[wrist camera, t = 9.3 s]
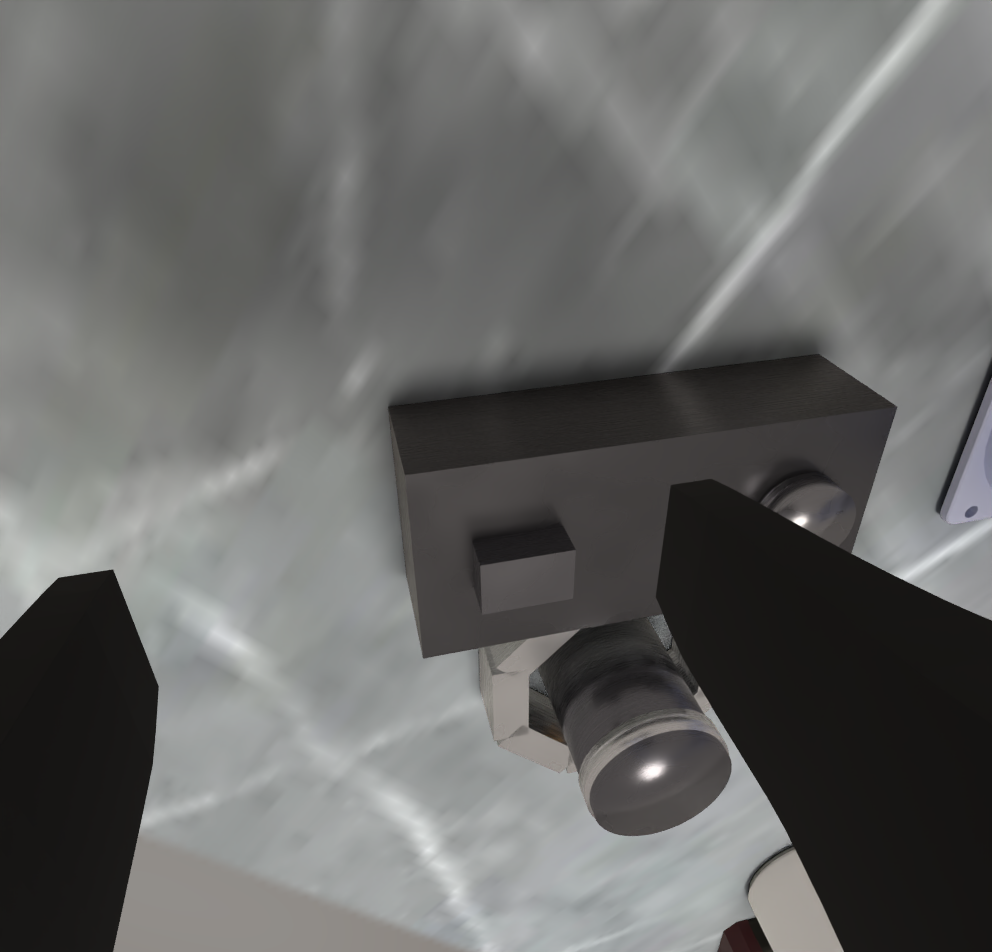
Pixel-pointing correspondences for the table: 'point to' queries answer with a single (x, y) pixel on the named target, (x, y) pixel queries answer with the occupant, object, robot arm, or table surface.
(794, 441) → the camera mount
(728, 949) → the toy gun
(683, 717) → the lens
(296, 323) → the table surface
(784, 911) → the can
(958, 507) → the robot arm
